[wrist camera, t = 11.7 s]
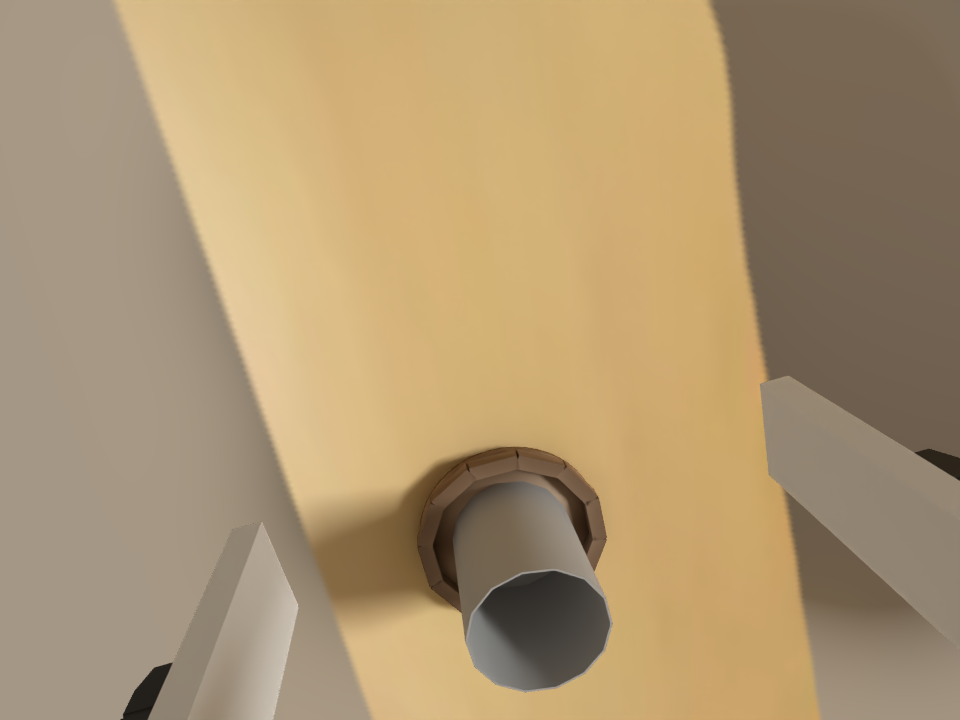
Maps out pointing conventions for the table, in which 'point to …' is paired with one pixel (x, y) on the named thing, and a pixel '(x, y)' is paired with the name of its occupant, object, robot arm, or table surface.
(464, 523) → the cup
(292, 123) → the table surface
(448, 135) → the table surface
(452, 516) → the tray
